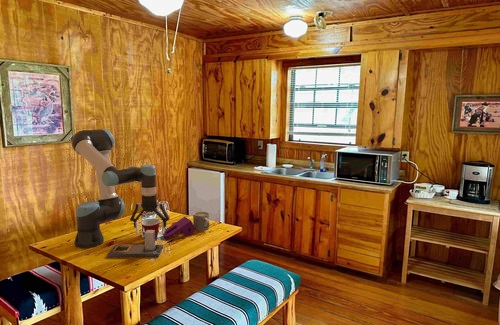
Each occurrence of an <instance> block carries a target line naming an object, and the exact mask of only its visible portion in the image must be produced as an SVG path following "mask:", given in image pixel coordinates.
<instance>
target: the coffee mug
mask: <svg viewBox="0 0 500 325" xmlns="http://www.w3.org/2000/svg"><path fill="white" fill-rule="evenodd" d="M192 217H193V218H192V223H193V225H194V227H195V231H196V232H206V231H207V230H209V227H210V220H209V219H210V213H209V212H207V211H196V212H193V214H192ZM195 231H194V232H195Z"/></svg>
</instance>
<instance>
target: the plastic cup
mask: <svg viewBox="0 0 500 325" xmlns="http://www.w3.org/2000/svg"><path fill="white" fill-rule="evenodd" d="M160 222H161V218H160V219H159V218H157V217H156V218H153V217H152V218H147V219H144V220H142V221H141V225H142V227H143V231H144V233H145V232H146V231H147V230H155V242H157V241H158V235H159V228H160Z"/></svg>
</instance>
